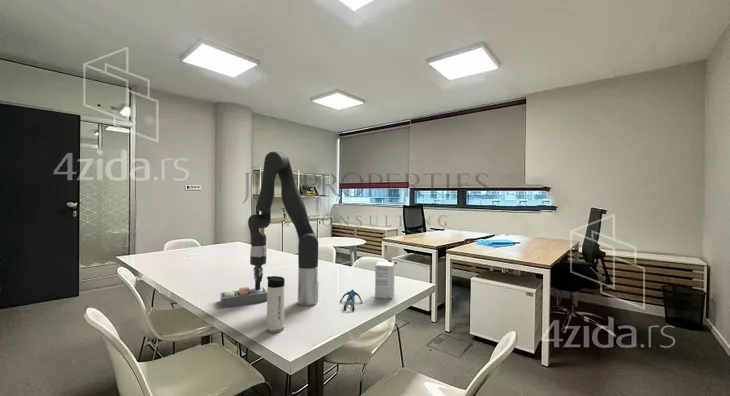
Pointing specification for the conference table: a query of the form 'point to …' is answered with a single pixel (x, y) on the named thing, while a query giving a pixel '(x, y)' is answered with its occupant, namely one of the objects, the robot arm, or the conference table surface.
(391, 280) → the supplement box
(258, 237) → the robot arm
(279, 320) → the travel mug
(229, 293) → the sage button
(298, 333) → the conference table surface
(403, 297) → the conference table surface
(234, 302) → the tray
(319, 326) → the conference table surface
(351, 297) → the person figurine
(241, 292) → the orange button
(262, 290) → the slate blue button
